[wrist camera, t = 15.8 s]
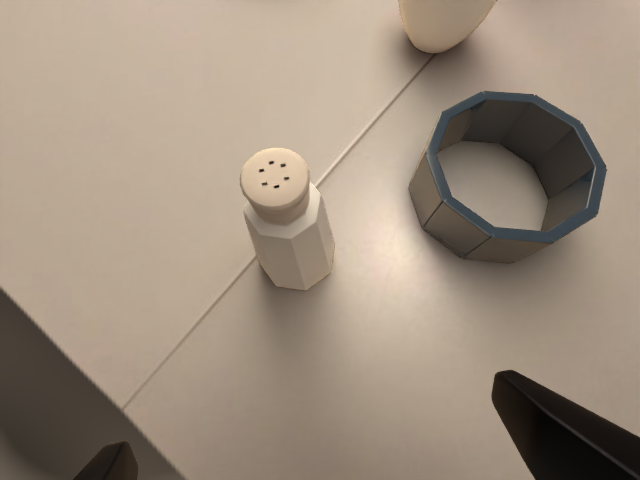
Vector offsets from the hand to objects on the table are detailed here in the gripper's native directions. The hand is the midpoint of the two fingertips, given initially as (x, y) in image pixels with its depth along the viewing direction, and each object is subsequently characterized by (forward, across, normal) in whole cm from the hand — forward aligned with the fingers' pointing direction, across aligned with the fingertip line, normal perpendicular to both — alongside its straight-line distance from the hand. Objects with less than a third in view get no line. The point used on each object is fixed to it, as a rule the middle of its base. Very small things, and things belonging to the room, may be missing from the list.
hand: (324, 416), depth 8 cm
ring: (+16, -15, 0) cm, 22 cm away
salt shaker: (+16, -1, +3) cm, 16 cm away
